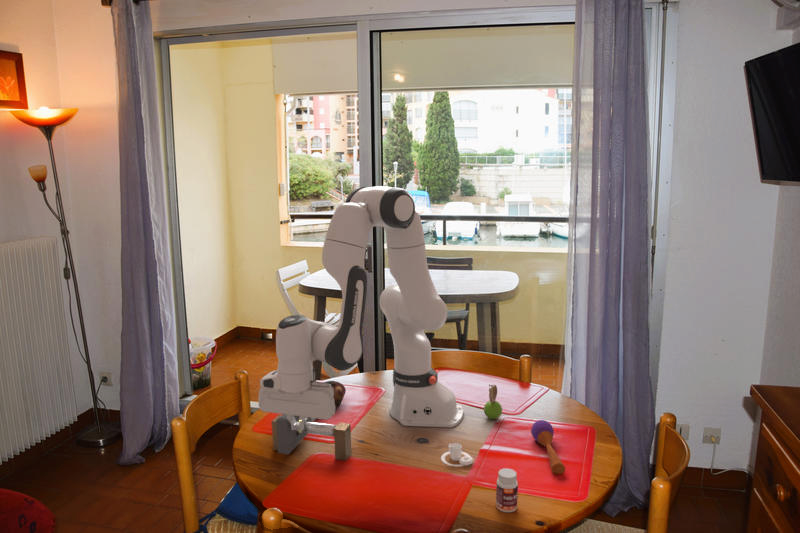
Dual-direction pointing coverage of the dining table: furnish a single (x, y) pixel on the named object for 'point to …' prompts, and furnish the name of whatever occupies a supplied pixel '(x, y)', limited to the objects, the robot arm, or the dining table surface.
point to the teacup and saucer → (457, 455)
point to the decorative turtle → (337, 391)
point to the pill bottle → (507, 490)
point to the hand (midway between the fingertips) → (297, 429)
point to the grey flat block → (288, 434)
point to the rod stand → (337, 431)
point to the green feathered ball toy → (492, 404)
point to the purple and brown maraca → (547, 443)
